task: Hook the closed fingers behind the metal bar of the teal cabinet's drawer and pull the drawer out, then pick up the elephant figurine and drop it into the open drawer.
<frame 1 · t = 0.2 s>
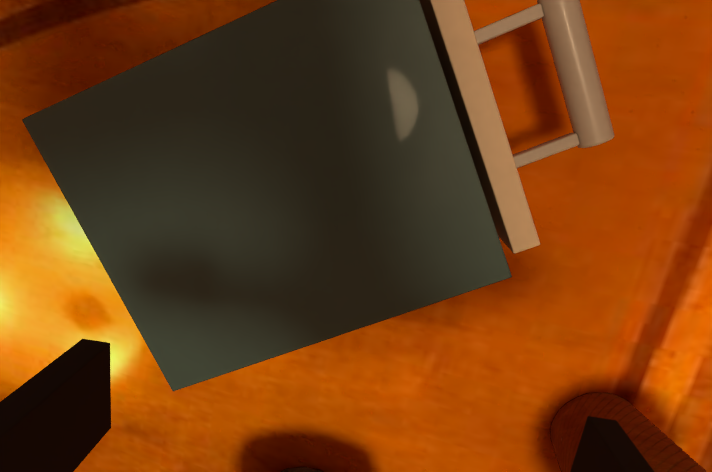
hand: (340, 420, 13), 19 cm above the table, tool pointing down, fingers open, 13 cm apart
cabinet: (309, 168, 30), on the table
drawer: (380, 145, 24), point 5 cm above the table, slide at 0.5 cm
disposable coffee cup: (593, 428, 34), on the table
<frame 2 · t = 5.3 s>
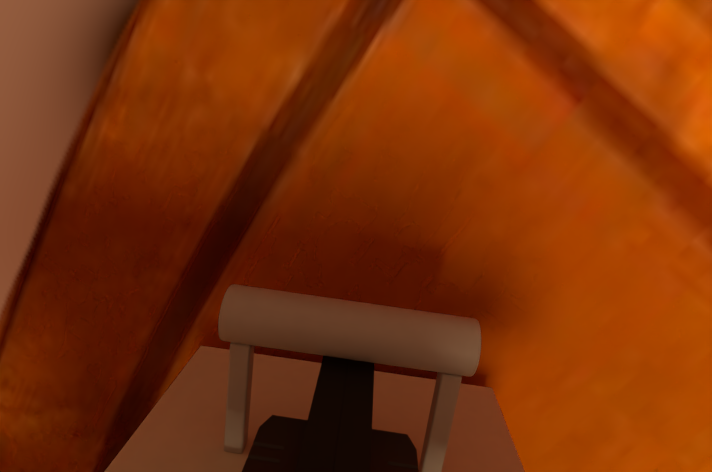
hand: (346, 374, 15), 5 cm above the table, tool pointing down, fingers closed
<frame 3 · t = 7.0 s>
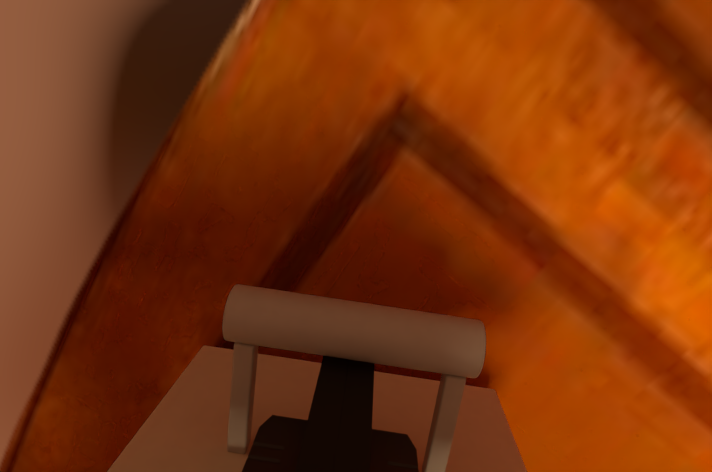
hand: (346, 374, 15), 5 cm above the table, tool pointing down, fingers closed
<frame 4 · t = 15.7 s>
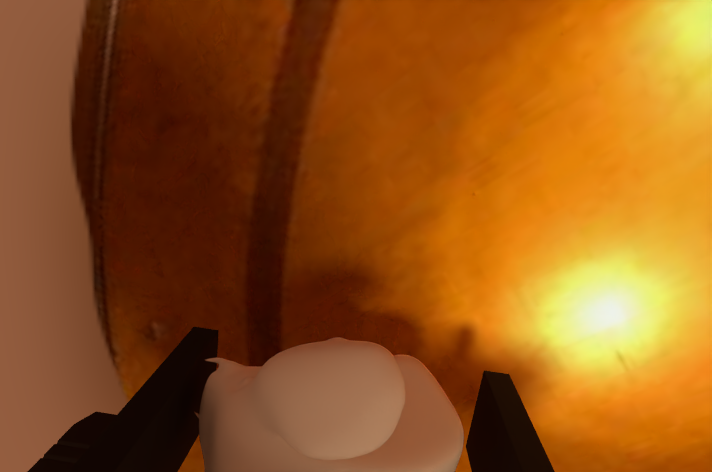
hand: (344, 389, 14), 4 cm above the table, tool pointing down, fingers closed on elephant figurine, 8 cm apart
elephant figurine: (348, 377, 15), point 3 cm above the table, touching gripper
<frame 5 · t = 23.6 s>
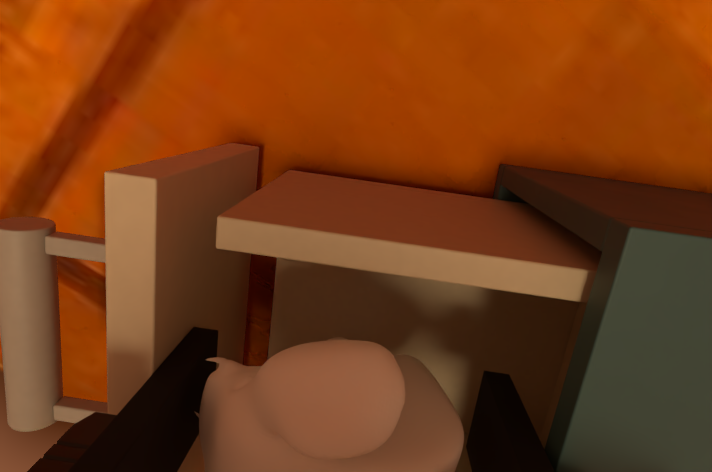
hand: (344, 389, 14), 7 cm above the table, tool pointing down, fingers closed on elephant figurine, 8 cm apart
cabinet: (650, 340, 21), on the table
elephant figurine: (348, 377, 15), point 7 cm above the table, touching gripper
drawer: (324, 353, 16), point 5 cm above the table, slide at 9.8 cm
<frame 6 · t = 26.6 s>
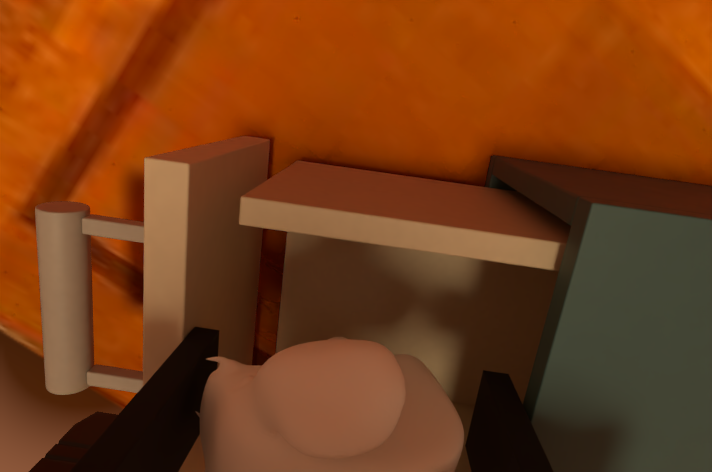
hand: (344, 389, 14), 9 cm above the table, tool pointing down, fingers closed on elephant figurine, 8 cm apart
cabinet: (631, 318, 23), on the table
elephant figurine: (348, 376, 15), point 9 cm above the table, touching gripper
drawer: (330, 325, 18), point 5 cm above the table, slide at 9.8 cm
when the fingers open (10 cm above the table, at t = 38.0 s): elephant figurine drops 5 cm, point 5 cm above the table.
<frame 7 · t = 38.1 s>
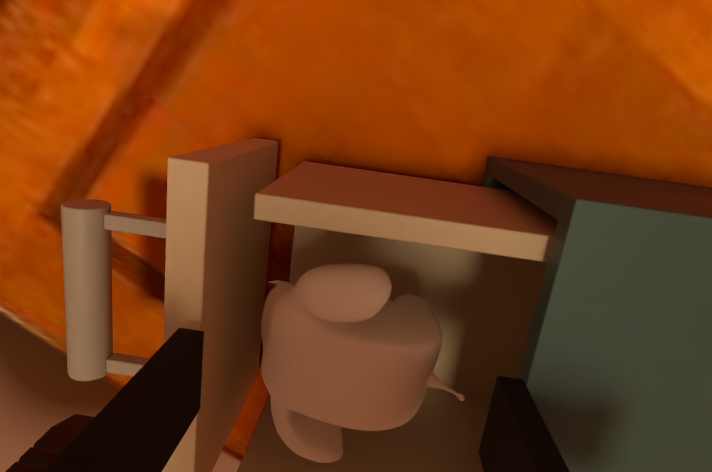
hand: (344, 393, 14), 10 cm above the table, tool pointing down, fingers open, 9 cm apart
cabinet: (622, 312, 24), on the table
elephant figurine: (372, 312, 19), point 5 cm above the table
drawer: (335, 316, 19), point 5 cm above the table, slide at 9.8 cm
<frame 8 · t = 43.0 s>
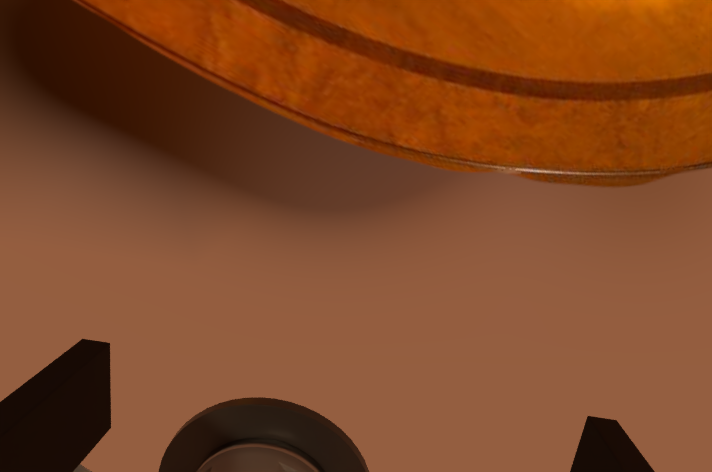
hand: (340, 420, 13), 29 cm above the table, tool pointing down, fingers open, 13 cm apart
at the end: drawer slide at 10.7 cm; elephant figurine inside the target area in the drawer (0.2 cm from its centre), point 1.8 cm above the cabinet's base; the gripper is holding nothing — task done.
